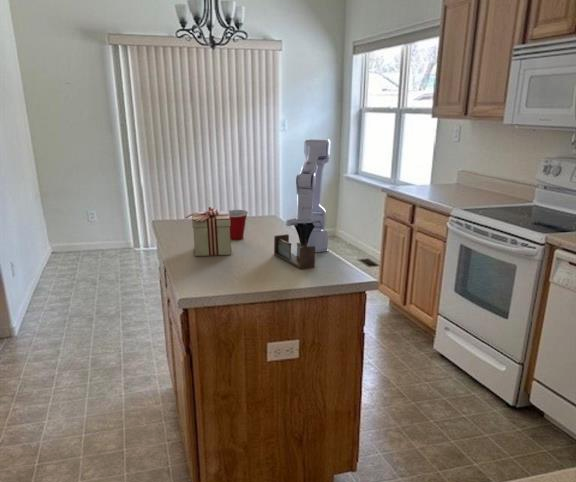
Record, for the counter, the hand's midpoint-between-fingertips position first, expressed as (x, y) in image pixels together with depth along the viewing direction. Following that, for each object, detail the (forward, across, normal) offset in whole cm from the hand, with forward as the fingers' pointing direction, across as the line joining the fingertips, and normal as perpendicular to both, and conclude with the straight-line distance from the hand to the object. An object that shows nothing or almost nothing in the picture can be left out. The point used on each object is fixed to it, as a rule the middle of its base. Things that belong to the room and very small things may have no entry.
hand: (303, 243), depth 201 cm
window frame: (+8, -2, +5) cm, 10 cm away
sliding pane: (+7, 0, 0) cm, 7 cm away
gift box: (+8, -26, +31) cm, 42 cm away
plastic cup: (+8, -8, +48) cm, 49 cm away
